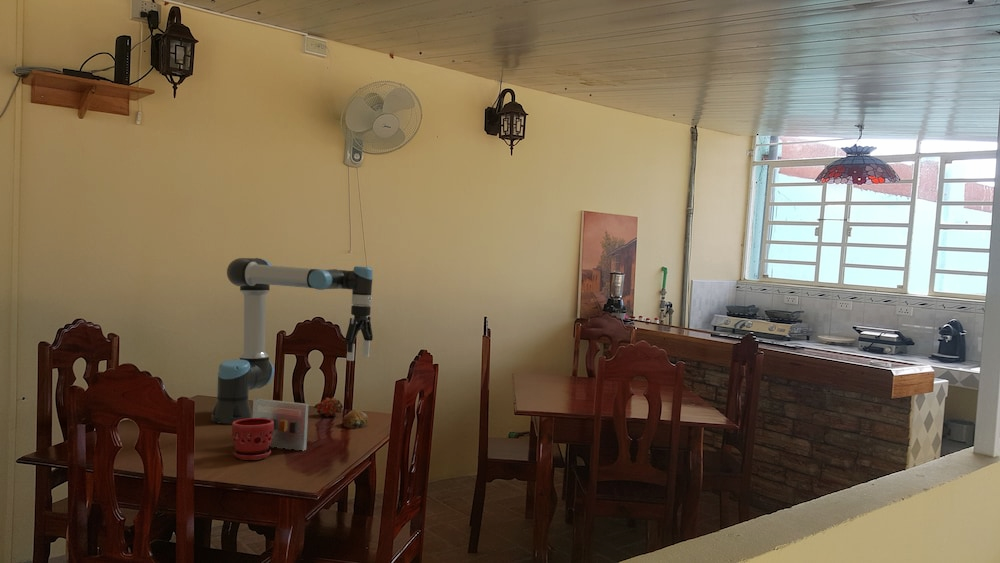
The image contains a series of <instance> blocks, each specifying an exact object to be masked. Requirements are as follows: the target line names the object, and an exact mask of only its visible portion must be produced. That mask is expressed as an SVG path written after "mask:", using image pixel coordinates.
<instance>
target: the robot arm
mask: <svg viewBox="0 0 1000 563" xmlns="http://www.w3.org/2000/svg"><path fill="white" fill-rule="evenodd" d="M226 277H227V279H228V280H229V282H230V283H231V284H232V285H234V286H236V287H239V291H240V292H241V293H242V294H243V351H242V353H241V354H240V356H239V359H233V360H232V359H228V360H226V361H223V362H221V363H220V364H219V367H218V371H217V394H216V395H217V396H216V403H215V405H214V408H213V409H212V410H213V411H212V412H211V413H212V414H211V417H210V418H211V420H212V421H214V422H213V423H215V422H220V423H233V422H234V421H236V420H240V419H247V418H252V417H253V412H252V408H251V406H250V403H249V391H251V390H255V389H261V388H263V387H265V386H267V385H269V383H271V381H272V380H273V378H274V375H275V367H274V365H273V363H272V362H271V361H270V355H269V354H268V353H267V352H266V315H267V314H266V309H267V308H266V307H267V306H266V297H267V296H266V295H267V294H268V293H269V292H270V290H271V289H270V285H271V286H281V287H282V286H283V287H291V288H292V287H295V288H306V289H307V288H308V289H315V290H318V291H320V290H322V291H325V290H339V289H341V290H351V291H352V292H351V293H352V294H351V308H350V314H351V315H352V316H354V317H353V318H351V317H350V318H349V323H348V327H347V331H346V334H345V338H344V343H345V344H347V349H346V352H347V353H346V361H350V362H353V361H355V348H356V347H355V346H356V344H355V340H356V338H357V335H358V333H359V331H361V334H362V337H363V340H362V349H361V350H362V352H361V356H362V357H366V358H369V357H370V347H371V345H370V342H371V341H373V340H374V339H373V338H374V337H373V330H372V323H371V309H372V308H371V306H370V305H371V304H372V300H373V298H372V288H373V280H374V278H373V268H372V267H369V266H359V265H356V266H354V267H353V269H352V270H348V269H347V270H344V269H338V268H337V269H336V268H335V269H334V268H331V269H329V268H328V269H318V268H307V267H306V268H305V267H304V268H303V267H294V266H282V265H272V263H271V262H270V261H269V260H267V259H264V258H258V257H255V258H254V257H253V258H250V257H247V258H246V257H240V258H235V259H234V260H232V261H230V263H229V264H228V266H227V268H226ZM212 421H211V422H212Z"/></svg>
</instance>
